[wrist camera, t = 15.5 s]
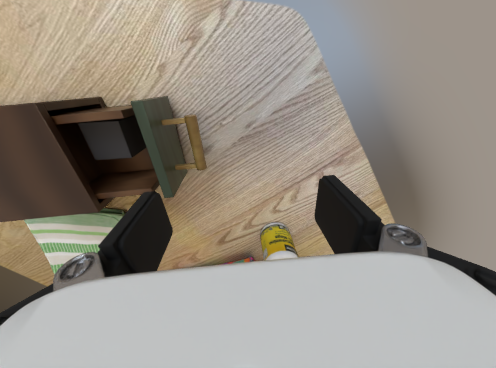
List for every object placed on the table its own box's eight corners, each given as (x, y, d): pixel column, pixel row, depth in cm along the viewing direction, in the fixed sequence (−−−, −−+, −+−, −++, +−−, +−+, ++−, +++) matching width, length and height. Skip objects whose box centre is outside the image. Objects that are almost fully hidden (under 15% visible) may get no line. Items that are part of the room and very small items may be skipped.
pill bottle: (291, 222, 38) (310, 269, 28) (284, 243, 41) (299, 292, 31) (262, 220, 37) (271, 267, 28) (257, 241, 40) (264, 291, 31)
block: (77, 123, 21) (118, 120, 21) (102, 116, 25) (136, 115, 25) (95, 160, 23) (132, 158, 23) (116, 149, 27) (147, 147, 27)
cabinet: (101, 96, 25) (34, 103, 17) (135, 178, 31) (99, 212, 23) (-7, 106, 25) (-130, 117, 17) (49, 186, 31) (-20, 224, 23)
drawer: (198, 93, 25) (184, 96, 18) (212, 169, 30) (206, 194, 24) (67, 105, 25) (3, 112, 18) (105, 179, 30) (67, 207, 23)
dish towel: (130, 208, 34) (122, 217, 32) (147, 285, 45) (142, 296, 43) (22, 202, 32) (5, 211, 30) (68, 284, 43) (58, 296, 41)
